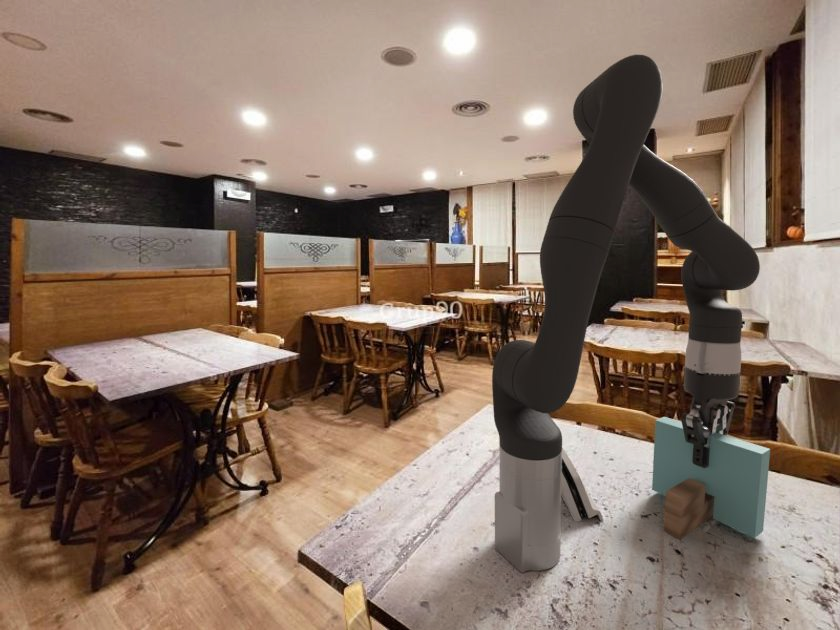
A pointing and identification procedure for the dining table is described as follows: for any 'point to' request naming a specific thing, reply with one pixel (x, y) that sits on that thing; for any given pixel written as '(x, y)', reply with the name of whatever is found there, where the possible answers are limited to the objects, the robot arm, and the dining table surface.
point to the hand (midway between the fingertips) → (705, 462)
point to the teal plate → (716, 474)
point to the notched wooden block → (687, 507)
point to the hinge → (576, 492)
